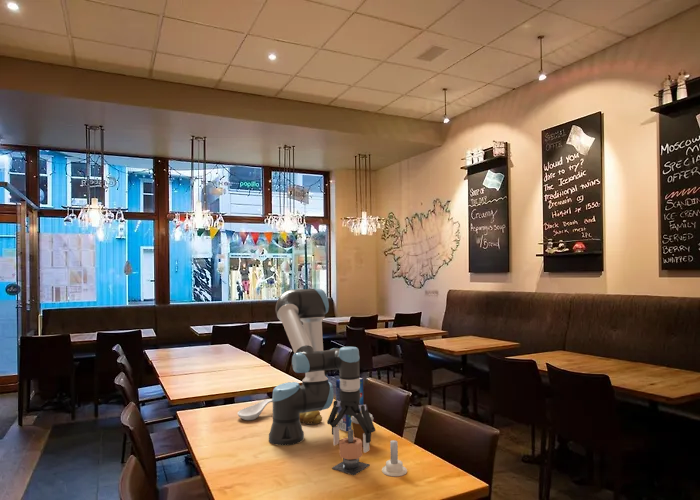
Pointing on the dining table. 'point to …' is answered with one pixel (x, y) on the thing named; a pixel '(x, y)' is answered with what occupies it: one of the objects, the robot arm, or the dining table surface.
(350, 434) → the stand
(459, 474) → the dining table surface
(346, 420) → the beverage box
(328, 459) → the dining table surface
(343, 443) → the collar
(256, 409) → the spoon rest
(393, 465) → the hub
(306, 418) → the bread roll
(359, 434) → the disposable coffee cup
